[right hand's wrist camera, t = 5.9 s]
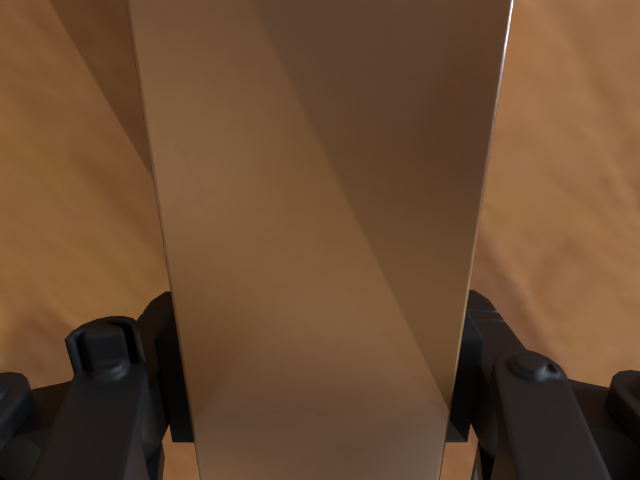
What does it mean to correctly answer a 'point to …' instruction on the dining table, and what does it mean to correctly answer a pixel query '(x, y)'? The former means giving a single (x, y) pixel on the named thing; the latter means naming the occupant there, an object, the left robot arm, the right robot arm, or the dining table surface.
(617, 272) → the dining table surface
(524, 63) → the dining table surface
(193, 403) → the post
